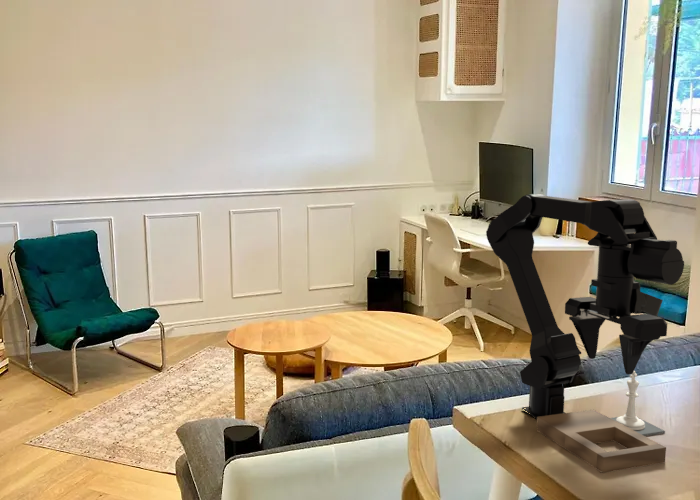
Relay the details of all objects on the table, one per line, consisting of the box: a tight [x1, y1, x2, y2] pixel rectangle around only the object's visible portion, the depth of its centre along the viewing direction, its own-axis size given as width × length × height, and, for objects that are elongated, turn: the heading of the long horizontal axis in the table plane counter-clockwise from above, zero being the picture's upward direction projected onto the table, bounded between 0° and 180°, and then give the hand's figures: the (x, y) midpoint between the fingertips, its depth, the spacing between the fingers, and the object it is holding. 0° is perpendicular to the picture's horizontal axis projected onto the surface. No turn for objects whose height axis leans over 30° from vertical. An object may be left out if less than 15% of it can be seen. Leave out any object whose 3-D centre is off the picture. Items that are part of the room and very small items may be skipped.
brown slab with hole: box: [536, 408, 667, 474], centre depth 117 cm, size 18×12×2 cm
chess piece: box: [616, 370, 645, 430], centre depth 125 cm, size 5×5×10 cm
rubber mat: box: [610, 416, 666, 437], centre depth 125 cm, size 8×8×1 cm
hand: (609, 366), depth 118 cm, fingers open, 9 cm apart
